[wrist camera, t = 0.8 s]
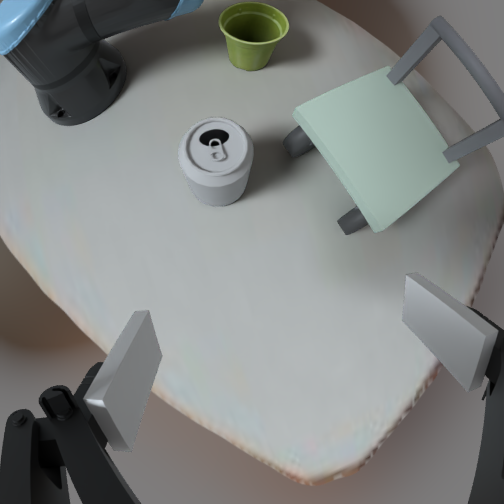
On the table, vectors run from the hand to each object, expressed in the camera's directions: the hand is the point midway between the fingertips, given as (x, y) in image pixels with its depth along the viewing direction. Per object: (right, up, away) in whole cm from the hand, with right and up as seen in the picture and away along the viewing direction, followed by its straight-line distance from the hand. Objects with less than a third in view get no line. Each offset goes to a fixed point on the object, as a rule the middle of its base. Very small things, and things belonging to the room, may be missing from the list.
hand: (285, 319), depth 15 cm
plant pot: (-2, +33, +26) cm, 43 cm away
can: (-6, +12, +25) cm, 28 cm away
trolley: (+13, +16, +26) cm, 34 cm away
